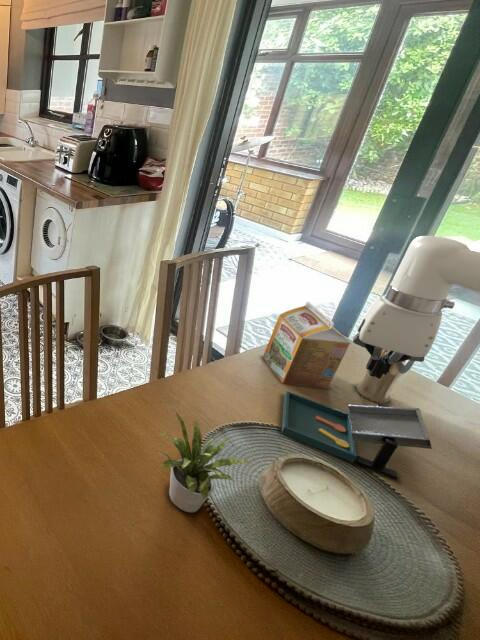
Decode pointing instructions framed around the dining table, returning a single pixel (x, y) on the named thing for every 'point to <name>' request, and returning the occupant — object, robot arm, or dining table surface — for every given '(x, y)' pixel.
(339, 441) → the brass key
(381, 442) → the key dish
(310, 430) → the tray
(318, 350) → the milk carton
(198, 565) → the dining table surface
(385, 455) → the dish cradle
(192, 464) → the house plant
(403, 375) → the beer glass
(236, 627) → the dining table surface
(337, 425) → the copper key
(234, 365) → the dining table surface
